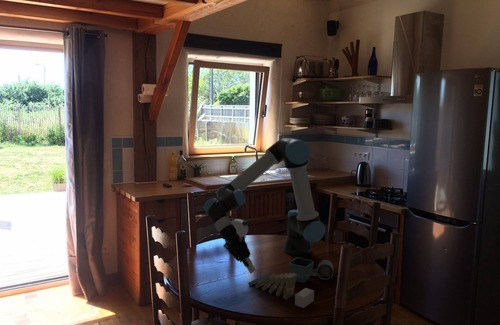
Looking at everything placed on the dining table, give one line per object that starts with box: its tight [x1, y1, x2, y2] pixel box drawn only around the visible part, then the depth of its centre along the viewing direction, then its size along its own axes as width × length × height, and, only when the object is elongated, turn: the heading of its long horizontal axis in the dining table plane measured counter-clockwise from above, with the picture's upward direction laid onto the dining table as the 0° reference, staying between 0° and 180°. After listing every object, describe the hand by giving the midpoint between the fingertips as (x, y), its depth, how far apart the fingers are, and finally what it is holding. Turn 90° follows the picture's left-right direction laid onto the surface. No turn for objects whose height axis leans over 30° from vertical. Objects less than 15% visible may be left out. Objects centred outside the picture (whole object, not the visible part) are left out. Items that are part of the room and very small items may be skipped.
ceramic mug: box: [310, 259, 334, 281], centre depth 193 cm, size 11×8×8 cm
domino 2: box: [254, 272, 278, 289], centre depth 178 cm, size 2×5×10 cm
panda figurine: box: [229, 217, 250, 245], centre depth 235 cm, size 12×11×15 cm
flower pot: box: [288, 257, 315, 284], centre depth 187 cm, size 9×9×9 cm
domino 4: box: [268, 272, 288, 295], centre depth 174 cm, size 2×5×10 cm
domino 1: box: [247, 272, 272, 287], centre depth 181 cm, size 2×5×10 cm
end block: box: [294, 287, 315, 309], centre depth 166 cm, size 4×8×4 cm, turn 141°
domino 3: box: [261, 272, 283, 292], centre depth 176 cm, size 2×5×10 cm
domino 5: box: [275, 272, 292, 298], centre depth 172 cm, size 2×5×10 cm, turn 142°
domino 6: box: [282, 273, 297, 301], centre depth 170 cm, size 2×5×10 cm, turn 141°
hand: (253, 271), depth 182 cm, fingers closed
